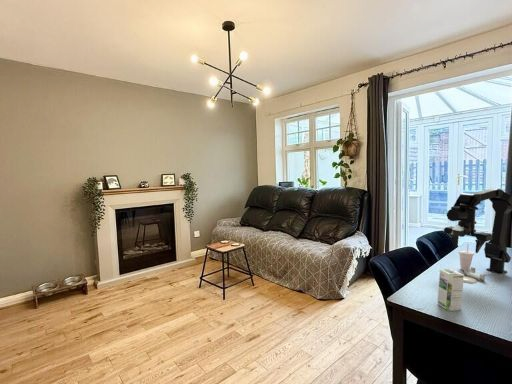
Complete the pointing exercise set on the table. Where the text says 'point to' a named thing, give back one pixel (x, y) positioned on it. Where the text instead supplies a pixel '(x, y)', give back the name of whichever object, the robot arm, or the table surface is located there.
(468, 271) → the steel rail
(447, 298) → the syrup box
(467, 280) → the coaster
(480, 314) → the table surface
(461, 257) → the smoothie
